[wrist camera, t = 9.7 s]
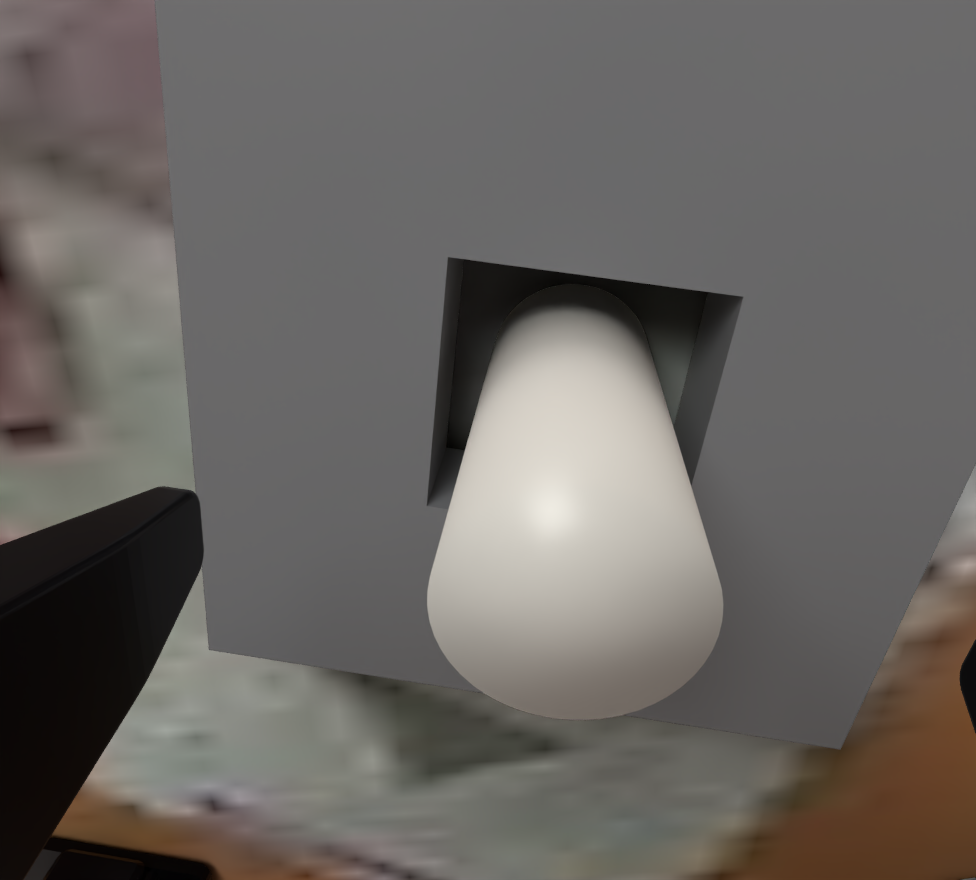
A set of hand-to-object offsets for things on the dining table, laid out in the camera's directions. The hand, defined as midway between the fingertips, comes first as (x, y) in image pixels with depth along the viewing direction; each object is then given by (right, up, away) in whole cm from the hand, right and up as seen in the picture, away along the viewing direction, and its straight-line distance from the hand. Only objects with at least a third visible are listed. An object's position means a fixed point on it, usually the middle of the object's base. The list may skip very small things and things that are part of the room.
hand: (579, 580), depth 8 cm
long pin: (+1, +3, +7) cm, 8 cm away
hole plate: (+1, +3, +7) cm, 8 cm away
